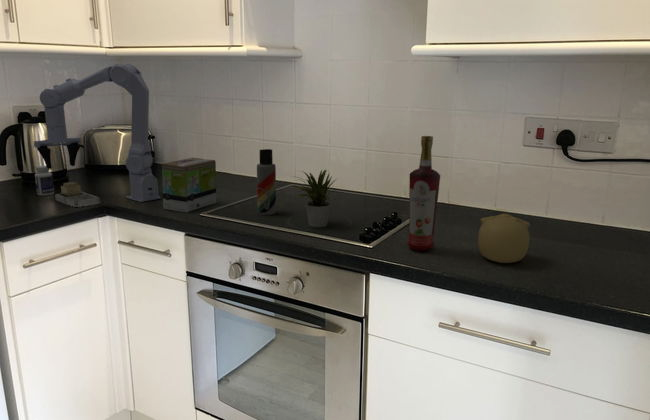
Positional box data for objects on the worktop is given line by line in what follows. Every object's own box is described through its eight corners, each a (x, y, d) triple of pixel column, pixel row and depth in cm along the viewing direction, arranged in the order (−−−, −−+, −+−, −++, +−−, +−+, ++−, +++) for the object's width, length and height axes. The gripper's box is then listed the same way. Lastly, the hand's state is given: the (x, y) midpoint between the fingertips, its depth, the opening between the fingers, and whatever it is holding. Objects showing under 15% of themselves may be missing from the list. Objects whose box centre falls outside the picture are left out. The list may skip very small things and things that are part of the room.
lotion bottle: (259, 215, 160) (257, 150, 155) (256, 211, 165) (255, 147, 160) (277, 214, 162) (276, 149, 156) (274, 210, 167) (273, 147, 162)
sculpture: (526, 253, 129) (531, 211, 127) (527, 270, 118) (533, 224, 116) (477, 248, 133) (481, 207, 130) (474, 264, 122) (478, 219, 119)
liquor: (438, 246, 134) (445, 135, 127) (431, 255, 127) (439, 139, 120) (409, 242, 137) (415, 134, 130) (402, 251, 130) (408, 137, 123)
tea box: (188, 213, 162) (185, 165, 158) (162, 209, 166) (159, 163, 162) (217, 202, 175) (216, 158, 172) (193, 199, 179) (191, 156, 176)
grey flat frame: (100, 203, 172) (99, 197, 172) (75, 208, 166) (75, 201, 166) (79, 196, 182) (78, 190, 181) (55, 200, 176) (54, 194, 175)
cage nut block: (81, 199, 177) (80, 183, 175) (68, 201, 173) (66, 185, 172) (75, 197, 180) (74, 181, 178) (62, 199, 176) (60, 183, 175)
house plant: (298, 215, 161) (298, 162, 157) (343, 218, 159) (345, 164, 154) (287, 228, 147) (287, 171, 143) (336, 232, 145) (337, 173, 141)
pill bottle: (57, 192, 186) (54, 165, 184) (48, 196, 181) (45, 168, 179) (43, 192, 187) (39, 165, 184) (33, 195, 182) (30, 167, 179)
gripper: (73, 124, 182) (77, 163, 185) (28, 126, 171) (33, 168, 175) (82, 125, 177) (86, 165, 181) (36, 128, 167) (42, 170, 170)
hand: (61, 167), depth 178 cm, fingers open, 7 cm apart
